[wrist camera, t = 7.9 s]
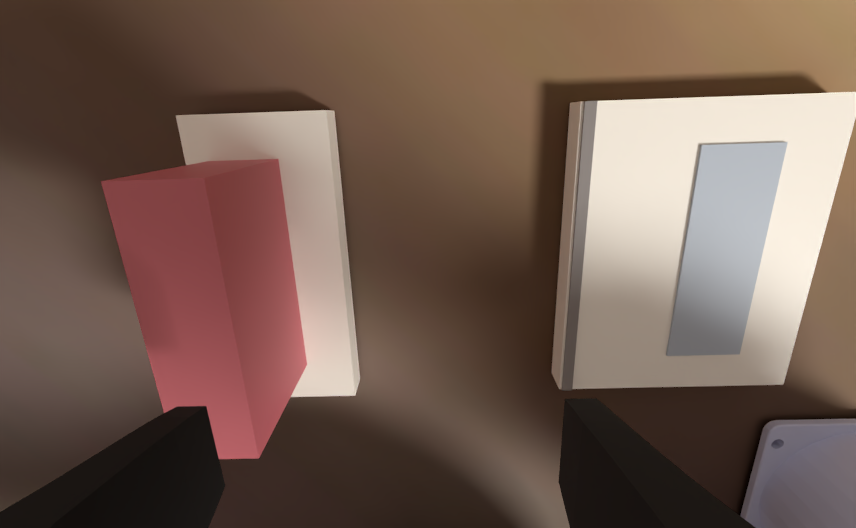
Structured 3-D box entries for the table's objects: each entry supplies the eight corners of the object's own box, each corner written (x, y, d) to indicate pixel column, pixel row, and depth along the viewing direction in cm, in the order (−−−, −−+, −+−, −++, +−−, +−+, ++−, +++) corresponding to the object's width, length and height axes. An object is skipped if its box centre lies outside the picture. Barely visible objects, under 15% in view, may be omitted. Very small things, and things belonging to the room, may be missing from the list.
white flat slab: (762, 368, 18) (785, 386, 17) (551, 372, 19) (559, 390, 17) (830, 93, 15) (865, 91, 14) (569, 102, 15) (582, 101, 14)
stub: (360, 378, 19) (326, 497, 13) (246, 381, 19) (161, 500, 13) (334, 110, 15) (272, 105, 9) (194, 115, 15) (46, 113, 9)
